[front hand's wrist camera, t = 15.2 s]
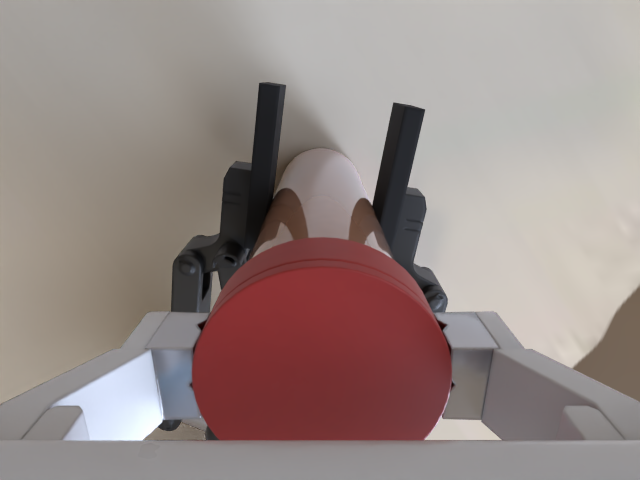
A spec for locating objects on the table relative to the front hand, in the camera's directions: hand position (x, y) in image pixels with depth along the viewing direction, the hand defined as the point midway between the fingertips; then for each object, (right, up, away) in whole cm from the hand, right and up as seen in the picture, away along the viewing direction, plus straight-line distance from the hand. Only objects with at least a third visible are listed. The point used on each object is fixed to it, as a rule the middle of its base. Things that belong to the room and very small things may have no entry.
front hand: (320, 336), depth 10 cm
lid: (0, 0, -1) cm, 2 cm away
